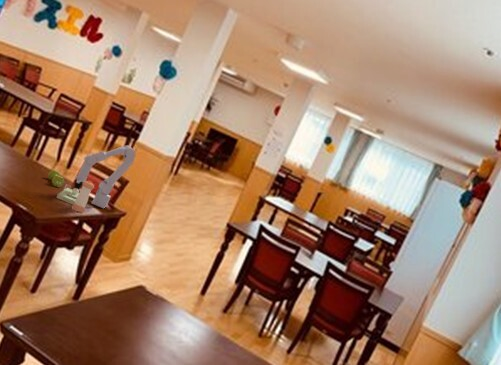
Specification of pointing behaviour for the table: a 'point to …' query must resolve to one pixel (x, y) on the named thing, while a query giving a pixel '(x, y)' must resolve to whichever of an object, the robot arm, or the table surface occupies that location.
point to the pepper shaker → (83, 196)
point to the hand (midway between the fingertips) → (75, 191)
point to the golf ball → (75, 191)
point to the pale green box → (67, 195)
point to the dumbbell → (56, 178)
